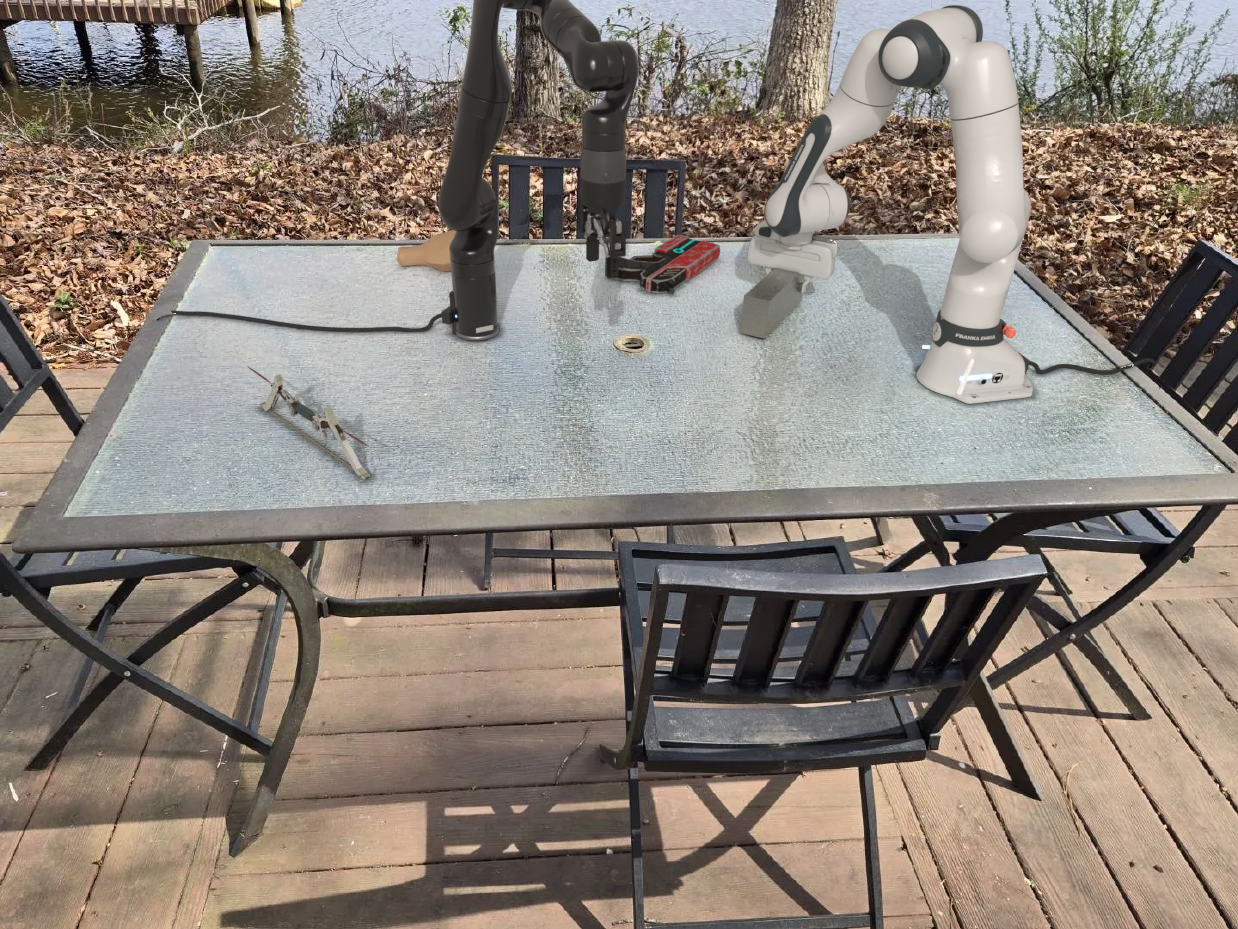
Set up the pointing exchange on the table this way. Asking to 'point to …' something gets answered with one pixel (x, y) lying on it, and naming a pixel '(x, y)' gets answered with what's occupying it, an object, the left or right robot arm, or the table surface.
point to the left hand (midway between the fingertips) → (601, 268)
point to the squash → (429, 252)
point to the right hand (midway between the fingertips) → (786, 288)
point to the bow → (314, 422)
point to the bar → (770, 302)
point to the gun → (669, 264)
